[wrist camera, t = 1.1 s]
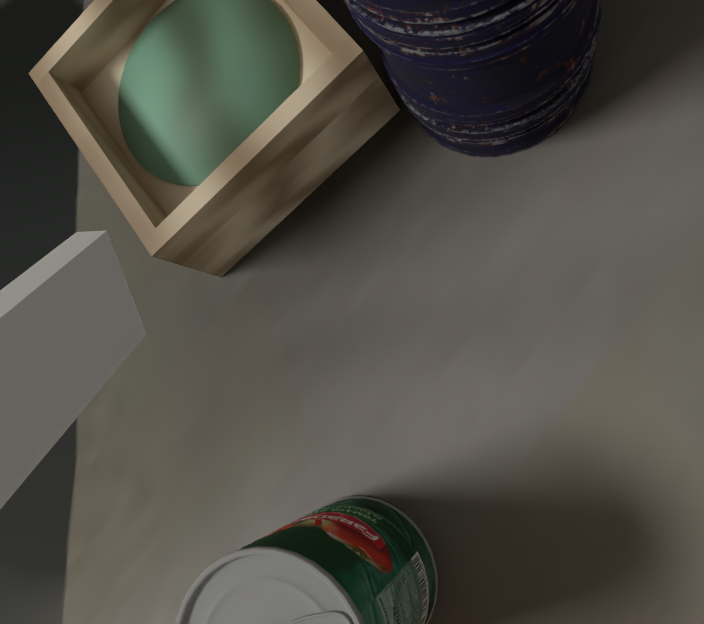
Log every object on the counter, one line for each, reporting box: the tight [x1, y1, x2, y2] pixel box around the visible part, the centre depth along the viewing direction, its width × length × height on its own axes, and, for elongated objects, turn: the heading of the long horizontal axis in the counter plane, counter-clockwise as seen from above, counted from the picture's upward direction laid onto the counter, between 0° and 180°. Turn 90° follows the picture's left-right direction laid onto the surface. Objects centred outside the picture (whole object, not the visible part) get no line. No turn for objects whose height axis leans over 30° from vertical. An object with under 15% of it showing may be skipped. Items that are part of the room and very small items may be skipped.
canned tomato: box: [175, 496, 438, 624], centre depth 27 cm, size 8×8×11 cm
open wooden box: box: [29, 0, 400, 277], centre depth 34 cm, size 14×14×6 cm
